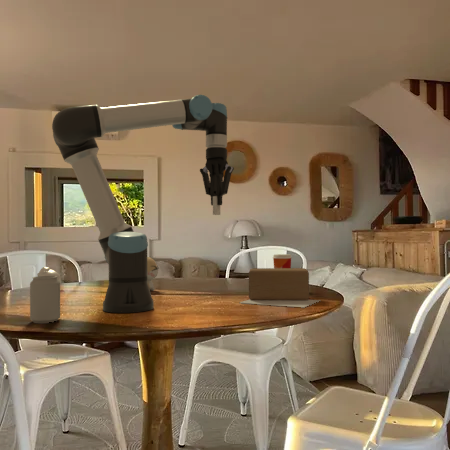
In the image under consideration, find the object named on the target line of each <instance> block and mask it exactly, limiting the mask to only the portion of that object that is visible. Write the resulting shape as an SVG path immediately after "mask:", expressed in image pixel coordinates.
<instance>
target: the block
mask: <svg viewBox="0 0 450 450" xmlns="http://www.w3.org/2000/svg"><path fill="white" fill-rule="evenodd" d="M309 298H310V272H309V271H308V269H307V268H305V267H304V268H303V267H300V268H299V267H298V268H297V267H296V268H294V267H292V268H274V267H273V268H271V267H270V268H268V267H267V268H266V267H261V268H260V267H257V268H253V267H252V268H250V269H249V271H248V299H249V300H250V299H251V300H310V299H309Z"/></svg>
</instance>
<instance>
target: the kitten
mask: <svg viewBox="0 0 450 450" xmlns="http://www.w3.org/2000/svg"><path fill="white" fill-rule="evenodd" d="M159 269H160V268H159V266H158V265H157V262H156V260H155V259H153V258H152V257H150V256H149V257H148V256H147V272H148V276H147V277H148V286H149V289H150V292H154V291H155V289H156V288H155V284H154V282H153V280H154V279H155V278H157V276H158V273H159Z"/></svg>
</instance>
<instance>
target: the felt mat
mask: <svg viewBox="0 0 450 450" xmlns="http://www.w3.org/2000/svg"><path fill="white" fill-rule="evenodd" d="M319 301H320V302H321V299H308V300H251V299H250V298H249V299H247V300H243V301H239V304H240V303H241V304H242V305H254V304H257V306H267V305H271V306H270V307H281V306H287V307H286V308H294V307H301V308H300V309H305V307H306V308H308V307H310V306H312V304H313V305H315V304H317V303H319ZM316 302H317V303H316ZM314 303H315V304H314ZM241 304H240V305H241ZM309 305H310V306H309ZM307 306H308V307H307Z"/></svg>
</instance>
